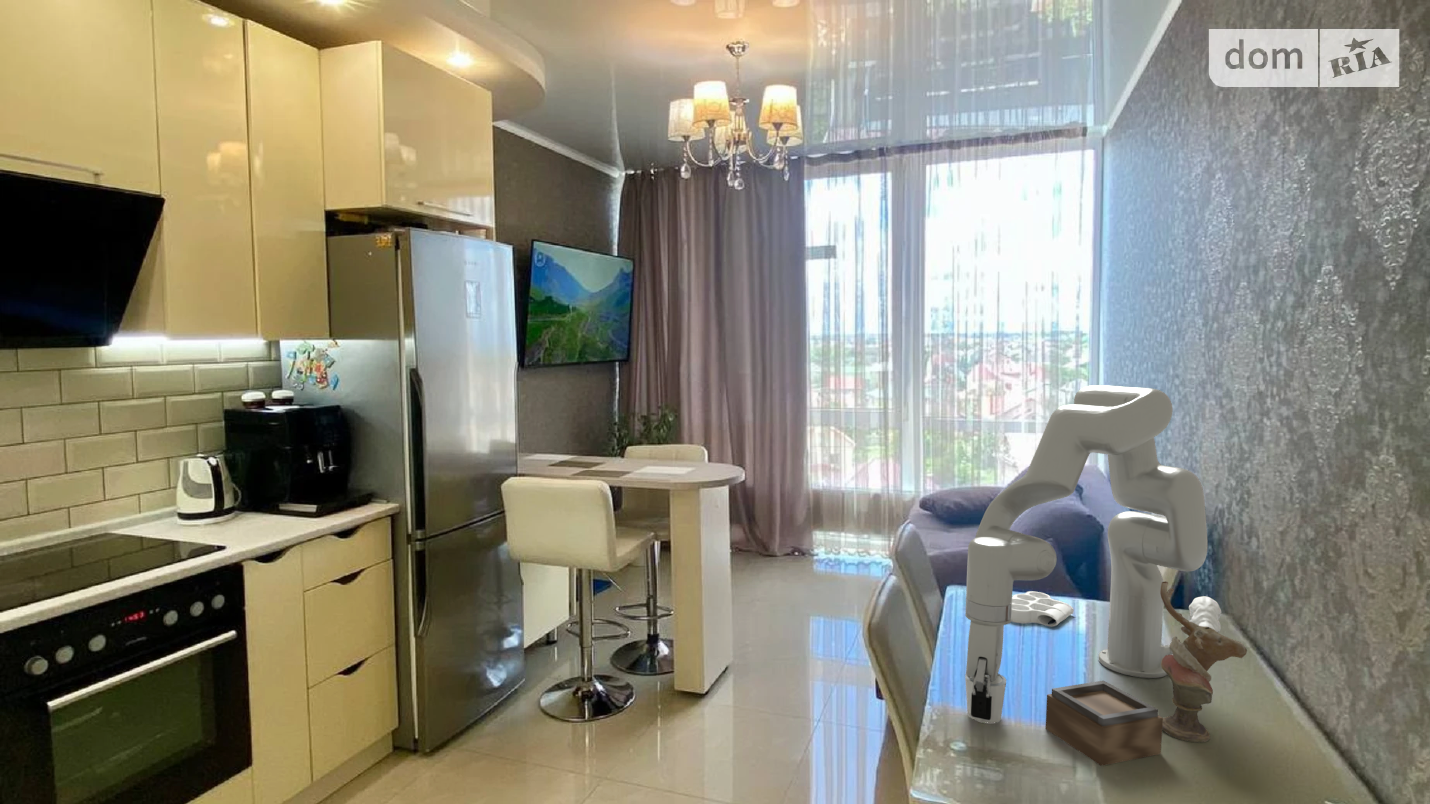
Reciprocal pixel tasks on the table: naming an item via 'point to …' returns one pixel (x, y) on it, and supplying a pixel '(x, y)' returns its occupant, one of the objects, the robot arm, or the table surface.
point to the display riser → (1104, 722)
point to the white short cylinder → (996, 693)
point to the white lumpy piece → (1205, 613)
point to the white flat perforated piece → (1038, 609)
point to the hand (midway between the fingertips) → (984, 706)
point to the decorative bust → (1193, 672)
